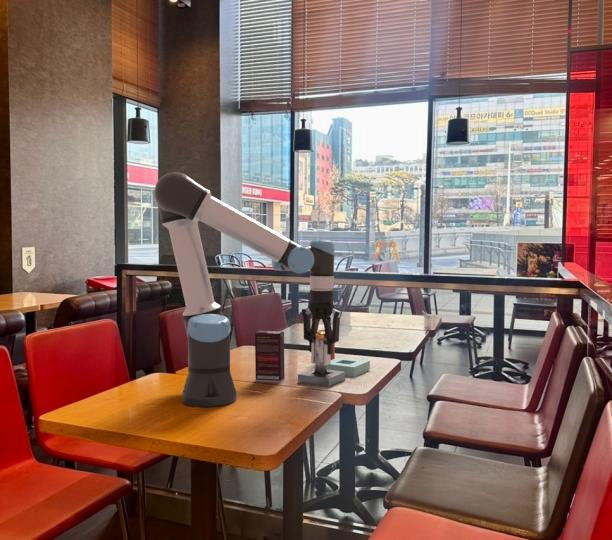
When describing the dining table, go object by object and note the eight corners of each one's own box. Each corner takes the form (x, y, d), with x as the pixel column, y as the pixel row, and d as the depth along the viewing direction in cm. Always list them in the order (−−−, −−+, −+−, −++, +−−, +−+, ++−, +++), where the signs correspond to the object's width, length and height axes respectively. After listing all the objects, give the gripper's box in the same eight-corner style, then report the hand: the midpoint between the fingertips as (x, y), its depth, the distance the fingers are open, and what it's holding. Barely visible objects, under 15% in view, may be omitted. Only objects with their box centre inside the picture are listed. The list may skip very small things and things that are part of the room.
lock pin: (323, 378, 181) (323, 334, 181) (312, 377, 183) (312, 332, 183) (329, 376, 185) (330, 332, 184) (318, 374, 187) (319, 331, 186)
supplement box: (285, 380, 187) (284, 331, 186) (280, 383, 182) (280, 333, 182) (259, 378, 189) (259, 330, 188) (254, 382, 184) (254, 332, 184)
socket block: (354, 377, 190) (354, 367, 190) (322, 373, 196) (322, 363, 196) (369, 370, 201) (369, 360, 200) (338, 367, 207) (338, 357, 207)
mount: (328, 388, 176) (328, 378, 176) (297, 383, 182) (297, 374, 182) (345, 381, 186) (345, 371, 186) (315, 376, 192) (315, 367, 191)
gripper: (351, 290, 181) (350, 364, 182) (304, 287, 190) (303, 358, 191) (340, 291, 175) (339, 369, 176) (292, 288, 184) (291, 362, 185)
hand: (320, 363), depth 184 cm, fingers closed on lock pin, 4 cm apart
